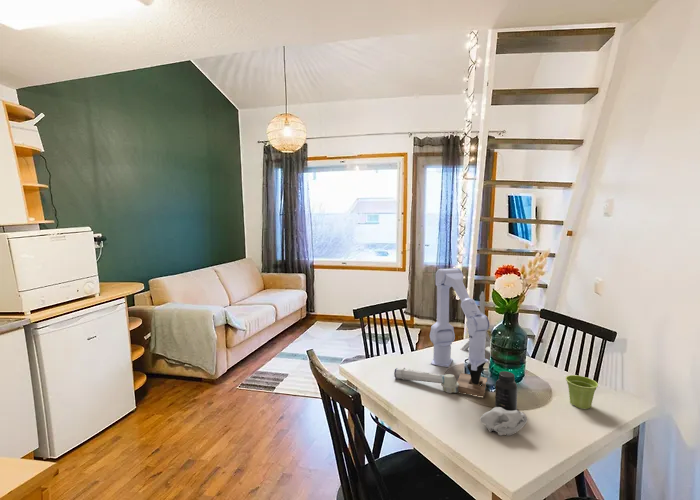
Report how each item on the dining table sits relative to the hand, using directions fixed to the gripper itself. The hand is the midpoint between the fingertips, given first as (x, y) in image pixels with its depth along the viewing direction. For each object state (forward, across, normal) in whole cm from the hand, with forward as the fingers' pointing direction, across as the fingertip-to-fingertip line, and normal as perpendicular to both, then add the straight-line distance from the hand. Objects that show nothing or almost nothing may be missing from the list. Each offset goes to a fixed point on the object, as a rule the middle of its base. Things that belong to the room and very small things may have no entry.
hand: (475, 381), depth 131 cm
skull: (+3, -24, -11) cm, 27 cm away
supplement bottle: (+3, -9, -11) cm, 15 cm away
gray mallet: (+3, -6, +18) cm, 19 cm away
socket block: (+3, 0, +2) cm, 3 cm away
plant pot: (+3, +5, -34) cm, 35 cm away
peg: (+2, 0, 0) cm, 2 cm away
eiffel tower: (+3, +40, +3) cm, 40 cm away
